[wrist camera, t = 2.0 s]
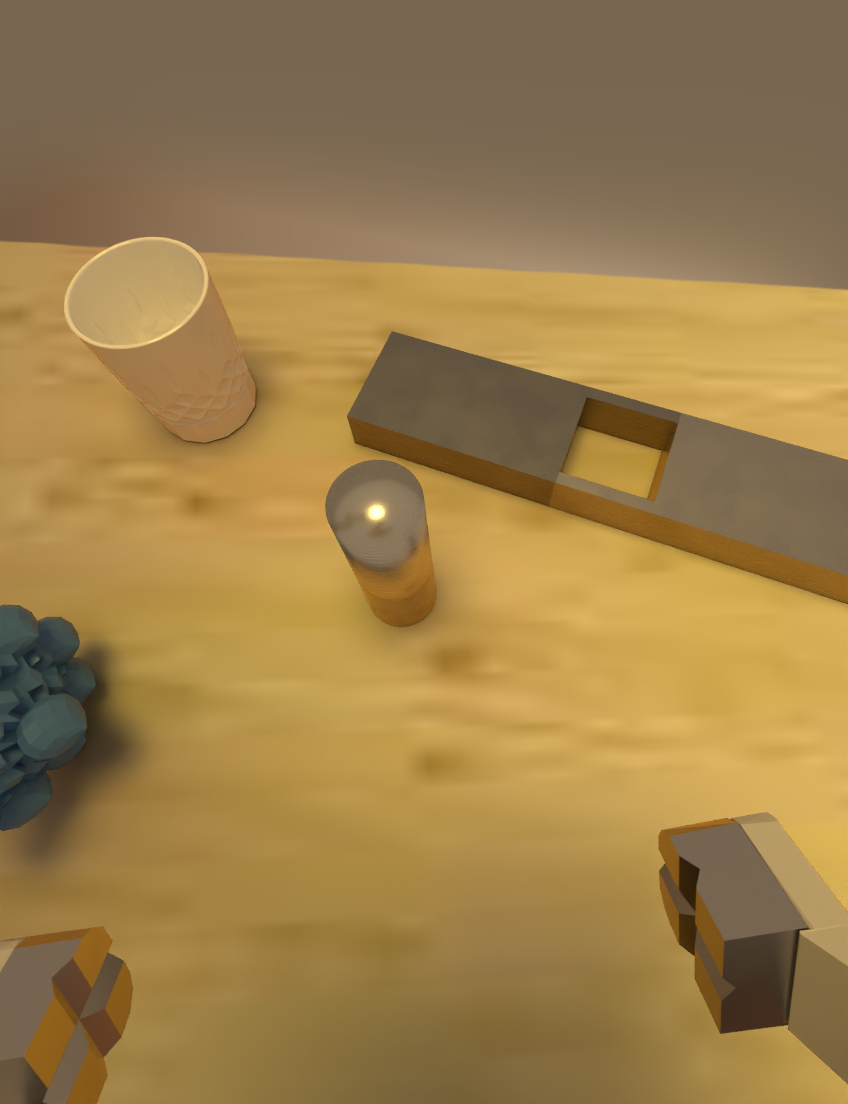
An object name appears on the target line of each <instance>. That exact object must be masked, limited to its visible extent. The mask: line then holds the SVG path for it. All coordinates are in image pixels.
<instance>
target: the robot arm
mask: <svg viewBox="0 0 848 1104" xmlns="http://www.w3.org/2000/svg"><path fill="white" fill-rule="evenodd" d="M659 851H660V853H661V855H662V857H663V859H664V861H665V864H664V865H663V867H662V868H661V869H660V870H659V880H660V890H661V895H662V899H663V903H664V908H665V911H666V913H667V916H668V919H669V922H670V925H671V927H672V929H673V931H674V934H675V936H676V938H677V941H678V943H679V945H681V946H682V947H683V948H685V949H686V950H687V951H688V952H690V953H691V954H692V955H694V956H695V980H696V982H697V985H698V987H699V989H700V991H701V993H702V995H703V998H704V1000H705V1002H706V1004H707V1006H708V1008H709V1010H710V1013H711V1015H712V1017H713V1019H714V1021H715V1023H716V1026H717V1028H718V1030H719V1032H720V1034H723V1033H730V1032H738V1031H746V1030H753V1029H761V1028H769V1027H776V1026H784V1025H788V1030H789V1031H790V1032H791V1033H792V1034H794V1035H795V1036H796V1037H797V1038H798V1039H799V1040H800V1041H801V1042H802V1043H803V1044H804V1045H806V1046H807V1047H808V1048H809V1049H810V1050H811V1051H812V1052H813V1053H814V1054H815V1055H816V1056H818V1057H819V1058H820V1059H821V1060H822V1061H823V1062H824V1063H825V1064H826V1065H827V1066H829V1067H830V1068H831V1069H832V1070H833V1071H834V1072H835V1073H836V1074H837V1075H838V1076H839V1077H841V1078H842V1079H843V1080H844V1081H845V1082H846V1083H847V1084H848V912H847V910H846V909H845V908H844V907H843V905H842V904H841V903H840V901H839V900H838V899H837V897H836V896H835V895H834V894H833V892H832V891H831V890H830V888H829V887H828V886H827V884H826V883H825V882H824V880H823V879H822V878H821V877H820V875H819V874H818V873H817V871H816V870H815V869H814V867H813V866H812V865H811V864H810V862H809V861H808V860H807V858H806V857H805V856H804V854H803V853H802V852H801V850H800V849H799V848H798V847H797V845H796V844H795V843H794V841H793V840H792V839H791V837H790V836H789V835H788V834H787V832H786V831H785V830H784V828H783V827H782V826H781V824H780V823H779V822H778V821H777V819H776V818H775V817H773V816H772V815H771V814H769V813H768V812H765V813H758V814H752V815H747V816H741V817H735V818H731V819H728V818H724V819H719V820H713V821H708V822H703V823H697V824H692V825H686V826H681V827H676V828H670V829H665V830H661V832H660V834H659ZM111 944H112V939H111V938H110V936H109V935H108V933H107V932H106V930H105V929H104V927H103V926H102V927H95V928H88V929H80V930H73V931H66V932H59V933H52V934H45V935H37V936H30V937H24V938H17V939H11V940H5V941H0V1104H97V1102H98V1099H99V1097H100V1094H101V1091H102V1089H103V1086H104V1083H105V1080H106V1078H107V1071H106V1066H105V1062H104V1057H105V1055H106V1054H107V1053H108V1052H109V1051H110V1050H111V1048H112V1047H113V1046H114V1045H115V1044H116V1043H117V1042H118V1040H119V1039H120V1038H121V1037H122V1034H123V1031H124V1029H125V1026H126V1023H127V1020H128V1017H129V1014H130V1009H131V1000H132V992H133V986H132V980H131V974H130V971H129V969H128V967H127V965H126V964H125V962H124V961H123V960H121V959H119V958H118V957H116V956H114V955H112V954H110V953H108V951H109V949H110V946H111Z"/></svg>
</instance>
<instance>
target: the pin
mask: <svg viewBox="0 0 848 1104" xmlns="http://www.w3.org/2000/svg"><path fill="white" fill-rule="evenodd" d="M326 516H327V519H328V522H329V524H330V526H331V528H332V530H333V532H334V534H335V536H336V538H337V540H338V542H339V544H340V546H341V548H342V550H343V552H344V554H345V556H346V558H347V560H348V562H349V564H350V566H351V568H352V570H353V572H354V574H355V576H356V578H357V580H358V582H359V584H360V586H361V588H362V590H363V592H364V594H365V596H366V598H367V600H368V602H369V604H370V606H371V608H372V610H373V612H374V613H375V614H376V616H377V617H378V618H379V619H381V620H382V621H383V622H385V623H387V624H389V625H393V626H399V627H404V626H410V625H413V624H416V623H418V622H420V621H421V620H423V619H424V618H425V617H426V616H427V615H428V614H429V613H430V611H431V610H432V608H433V606H434V603H435V599H436V587H435V579H434V572H433V564H432V556H431V549H430V541H429V533H428V526H427V518H426V510H425V503H424V495H423V491H422V488H421V485H420V483H419V482H418V480H417V479H416V477H415V476H414V475H413V474H412V473H411V472H410V471H409V470H408V469H406V468H405V467H403V466H401V465H399V464H397V463H394V462H391V461H385V460H369V461H365V462H361V463H358V464H356V465H354V466H351V467H350V468H348V469H347V470H345V471H344V472H343V473H341V474H340V475H339V476H338V477H337V479H336V480H335V481H334V482H333V484H332V486H331V487H330V489H329V492H328V495H327V498H326Z"/></svg>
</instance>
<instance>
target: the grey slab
mask: <svg viewBox="0 0 848 1104" xmlns="http://www.w3.org/2000/svg"><path fill="white" fill-rule="evenodd" d="M347 418H348V421H349V424H350V428H351V431H352V434H353V437H354V441H355V443H357V444H360V445H363V446H366V447H369V448H372V449H375V450H379V451H382V452H385V453H388V454H391V455H394V456H397V457H400V458H403V459H406V460H409V461H412V462H415V463H418V464H421V465H425V466H428V467H431V468H434V469H437V470H440V471H443V472H446V473H449V474H452V475H455V476H458V477H461V478H464V479H467V480H470V481H474V482H477V483H480V484H483V485H486V486H489V487H492V488H495V489H498V490H501V491H504V492H507V493H510V494H513V495H516V496H519V497H523V498H526V499H529V500H532V501H535V502H538V503H541V504H544V505H547V506H550V507H553V508H556V509H559V510H562V511H565V512H569V513H572V514H575V515H578V516H581V517H584V518H587V519H590V520H593V521H596V522H599V523H602V524H605V525H608V526H611V527H614V528H618V529H621V530H624V531H627V532H630V533H633V534H636V535H639V536H642V537H645V538H648V539H651V540H654V541H657V542H660V543H663V544H667V545H670V546H673V547H676V548H679V549H682V550H685V551H688V552H691V553H694V554H697V555H700V556H703V557H706V558H709V559H713V560H716V561H719V562H722V563H725V564H728V565H731V566H734V567H737V568H740V569H743V570H746V571H749V572H752V573H755V574H758V575H762V576H765V577H768V578H771V579H774V580H777V581H780V582H783V583H786V584H789V585H792V586H795V587H798V588H801V589H804V590H808V591H811V592H814V593H817V594H820V595H823V596H826V597H829V598H832V599H835V600H838V601H841V602H844V603H847V604H848V460H846V459H842V458H839V457H835V456H832V455H828V454H825V453H821V452H817V451H814V450H810V449H807V448H803V447H800V446H796V445H793V444H789V443H786V442H782V441H779V440H775V439H771V438H768V437H764V436H761V435H757V434H754V433H750V432H747V431H743V430H740V429H736V428H732V427H729V426H725V425H722V424H718V423H715V422H711V421H708V420H704V419H701V418H697V417H694V416H690V415H686V414H683V413H679V412H676V411H672V410H669V409H665V408H662V407H658V406H655V405H651V404H647V403H644V402H640V401H637V400H633V399H630V398H626V397H623V396H619V395H616V394H612V393H609V392H605V391H601V390H598V389H594V388H591V387H587V386H584V385H580V384H577V383H573V382H570V381H566V380H562V379H559V378H555V377H552V376H548V375H545V374H541V373H538V372H534V371H531V370H527V369H524V368H520V367H516V366H513V365H509V364H506V363H502V362H499V361H495V360H492V359H488V358H485V357H481V356H478V355H474V354H470V353H467V352H463V351H460V350H456V349H453V348H449V347H446V346H442V345H439V344H435V343H431V342H428V341H424V340H421V339H417V338H414V337H410V336H407V335H403V334H400V333H396V332H393V331H392V332H391V334H390V336H389V338H388V340H387V342H386V344H385V345H384V347H383V349H382V351H381V353H380V355H379V357H378V359H377V361H376V362H375V364H374V366H373V368H372V370H371V372H370V374H369V376H368V378H367V379H366V381H365V383H364V385H363V387H362V389H361V391H360V393H359V395H358V397H357V398H356V400H355V402H354V404H353V406H352V408H351V410H350V412H349V414H348V415H347ZM578 425H579V426H582V427H585V428H589V429H592V430H595V431H599V432H602V433H606V434H609V435H612V436H616V437H619V438H622V439H626V440H629V441H633V442H636V443H639V444H643V445H646V446H649V447H653V448H656V449H660V450H662V453H661V456H660V459H659V463H658V466H657V469H656V473H655V476H654V479H653V482H652V486H651V489H650V492H649V496H648V499H645V498H641V497H638V496H635V495H632V494H629V493H625V492H622V491H619V490H616V489H613V488H609V487H606V486H603V485H600V484H597V483H594V482H590V481H587V480H584V479H581V478H578V477H574V476H571V475H568V474H565V473H562V472H561V470H562V467H563V465H564V462H565V459H566V456H567V454H568V451H569V448H570V445H571V443H572V440H573V437H574V434H575V432H576V429H577V426H578Z"/></svg>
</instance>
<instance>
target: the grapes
mask: <svg viewBox="0 0 848 1104" xmlns="http://www.w3.org/2000/svg"><path fill="white" fill-rule="evenodd" d="M79 645H80V641H79V636H78V632H77V631H76V629H75V628H74V626H73V625H72V623H70V622H68V621H67V620H65V619H63V618H61V617H45V618H43V619H41V620H38V621H37V620H36V618H35V617H34V615H33V614H32V612H30V611H28V610H26V609H25V608H23V607H21V606H19V605H1V606H0V830H2V831H5V830H10V829H14V828H19V827H21V826H22V825H24V824H25V823H27V822H28V821H30V820H32V819H33V818H35V817H36V816H37V815H38V814H39V812H40V811H41V810H42V809H43V808H44V807H45V806H46V805H47V803H48V802H49V800H50V799H51V795H52V787H51V780H50V778H49V776H48V775H47V773H46V770H52V769H57V768H59V767H61V766H62V765H64V764H66V763H67V762H69V761H71V759H72V758H73V757H74V756H75V755H76V754H77V753H78V752H79V751H80V750H81V749H82V747H83V746H84V744H85V743H86V732H85V730H86V728H87V719H86V714H85V710H84V709H83V707H82V705H81V704H82V703H83V702H84V701H85V700H86V699H87V698H88V697H89V696H90V694H91V693H92V691H93V689H94V688H95V686H96V680H95V675H94V672H93V670H92V669H91V667H90V666H89V664H88V663H86V662H85V661H83V660H81V659H79V658H72V657H73V656H74V655H75V653H76V651H77V650H78V648H79Z"/></svg>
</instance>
